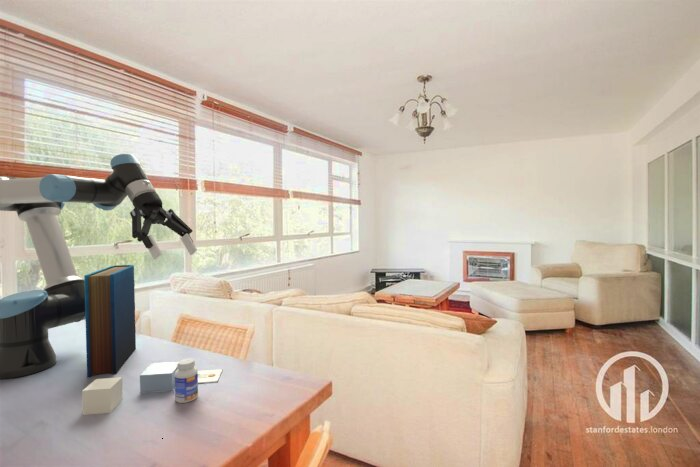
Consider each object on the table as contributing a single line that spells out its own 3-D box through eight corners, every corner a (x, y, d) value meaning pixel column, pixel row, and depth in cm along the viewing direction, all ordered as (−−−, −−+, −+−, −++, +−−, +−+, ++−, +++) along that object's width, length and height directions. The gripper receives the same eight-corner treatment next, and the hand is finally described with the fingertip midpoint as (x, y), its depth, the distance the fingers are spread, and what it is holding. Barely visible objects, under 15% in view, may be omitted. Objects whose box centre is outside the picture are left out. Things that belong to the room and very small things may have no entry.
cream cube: (82, 415, 82) (82, 390, 82) (96, 402, 88) (96, 379, 88) (110, 412, 83) (110, 388, 83) (122, 400, 89) (122, 377, 89)
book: (110, 349, 124) (107, 265, 123) (138, 346, 127) (136, 264, 125) (81, 378, 101) (78, 275, 100) (116, 374, 104) (113, 274, 103)
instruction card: (179, 384, 97) (179, 383, 97) (187, 372, 105) (187, 371, 105) (217, 382, 99) (217, 380, 99) (222, 370, 107) (222, 368, 106)
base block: (140, 393, 92) (139, 375, 92) (152, 380, 100) (151, 363, 100) (172, 391, 94) (172, 373, 94) (181, 378, 102) (181, 361, 101)
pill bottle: (189, 404, 87) (188, 366, 86) (170, 402, 88) (169, 364, 87) (202, 394, 92) (201, 358, 91) (184, 392, 93) (183, 356, 93)
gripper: (112, 186, 94) (148, 250, 91) (183, 193, 118) (214, 244, 115) (97, 202, 96) (131, 266, 93) (169, 206, 120) (199, 257, 117)
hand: (177, 254), depth 104 cm, fingers open, 13 cm apart
